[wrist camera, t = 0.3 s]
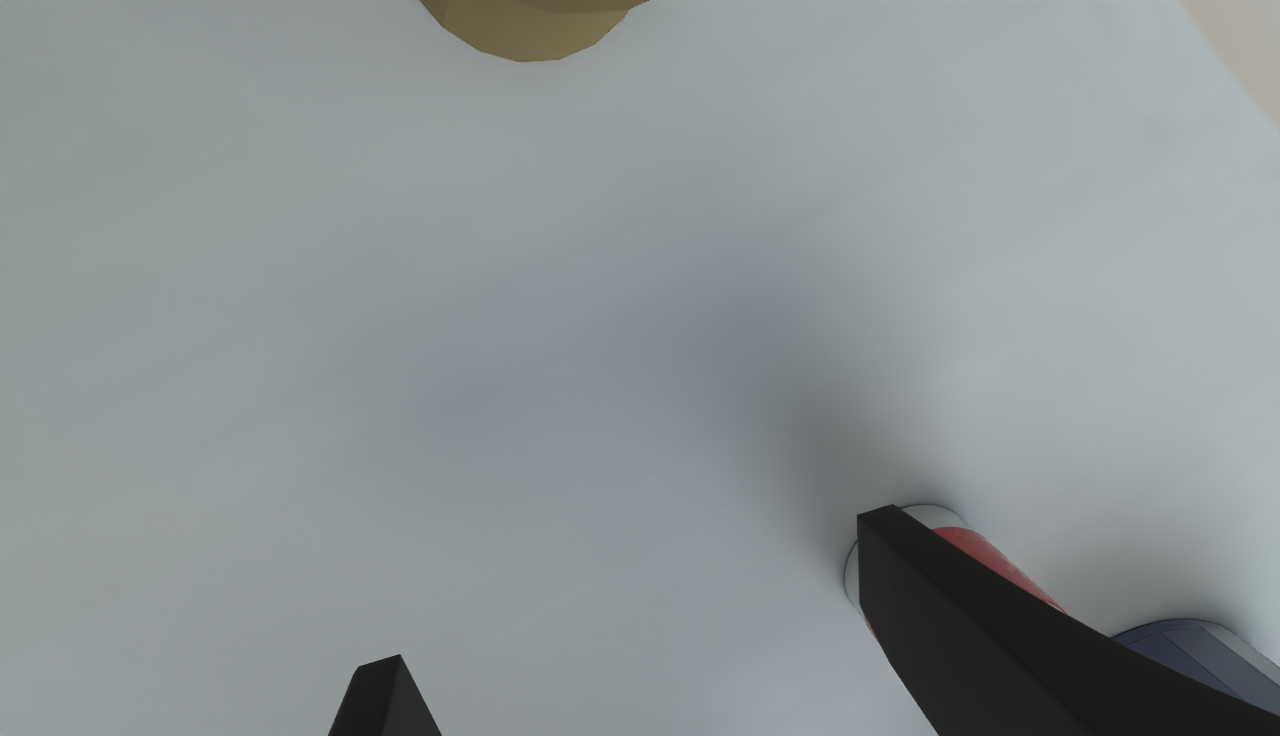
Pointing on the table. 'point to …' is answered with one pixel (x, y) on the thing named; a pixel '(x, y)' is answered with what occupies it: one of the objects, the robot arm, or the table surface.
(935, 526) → the can
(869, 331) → the table surface
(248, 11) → the table surface
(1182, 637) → the dark blue round bowl
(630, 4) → the cork
